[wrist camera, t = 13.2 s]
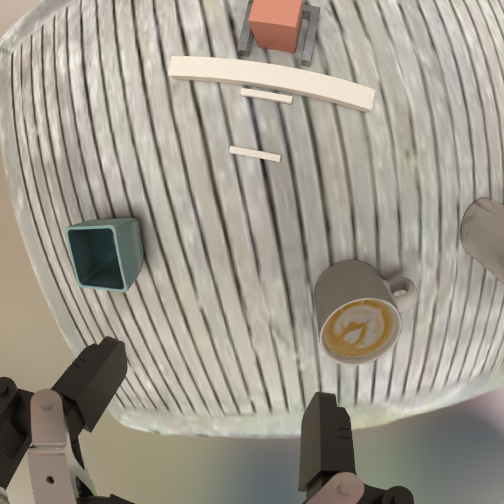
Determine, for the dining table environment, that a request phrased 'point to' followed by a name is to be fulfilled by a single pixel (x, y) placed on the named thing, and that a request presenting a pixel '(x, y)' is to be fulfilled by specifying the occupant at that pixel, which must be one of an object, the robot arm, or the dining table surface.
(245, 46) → the keeper bracket
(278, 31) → the block
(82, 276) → the flower pot
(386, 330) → the coffee mug
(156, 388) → the dining table surface
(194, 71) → the strip
